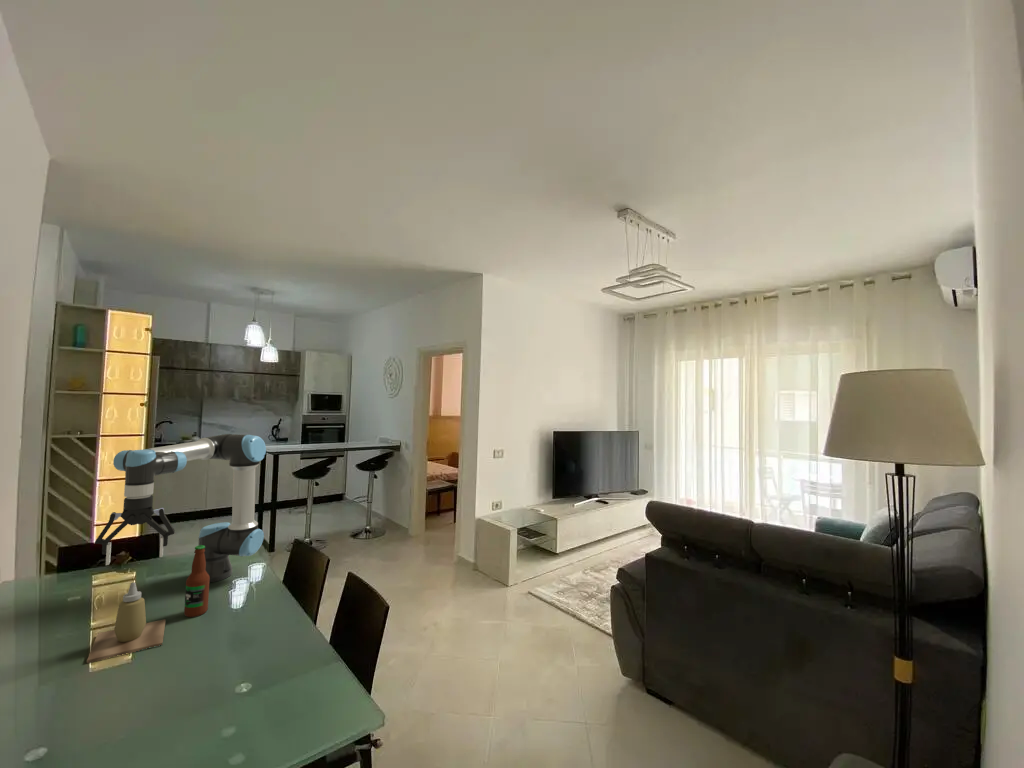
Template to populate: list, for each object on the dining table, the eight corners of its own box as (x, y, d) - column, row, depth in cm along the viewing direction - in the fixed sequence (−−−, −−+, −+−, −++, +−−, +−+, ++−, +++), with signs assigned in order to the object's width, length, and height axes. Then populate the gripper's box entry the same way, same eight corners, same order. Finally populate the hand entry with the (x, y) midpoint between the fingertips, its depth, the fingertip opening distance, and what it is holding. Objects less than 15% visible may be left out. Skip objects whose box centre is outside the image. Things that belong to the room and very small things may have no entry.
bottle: (179, 614, 164) (184, 547, 164) (201, 606, 170) (205, 541, 171) (190, 619, 160) (194, 551, 161) (211, 611, 167) (215, 545, 167)
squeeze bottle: (151, 632, 149) (155, 579, 150) (128, 645, 141) (132, 589, 142) (130, 630, 150) (133, 577, 151) (106, 643, 142) (110, 587, 143)
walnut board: (165, 621, 158) (165, 619, 158) (162, 645, 144) (162, 642, 144) (97, 636, 148) (97, 633, 148) (86, 663, 133) (87, 660, 133)
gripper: (185, 490, 158) (182, 549, 157) (90, 497, 143) (86, 563, 142) (184, 494, 151) (181, 556, 151) (85, 502, 137) (81, 571, 136)
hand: (135, 559), depth 147 cm, fingers open, 13 cm apart
